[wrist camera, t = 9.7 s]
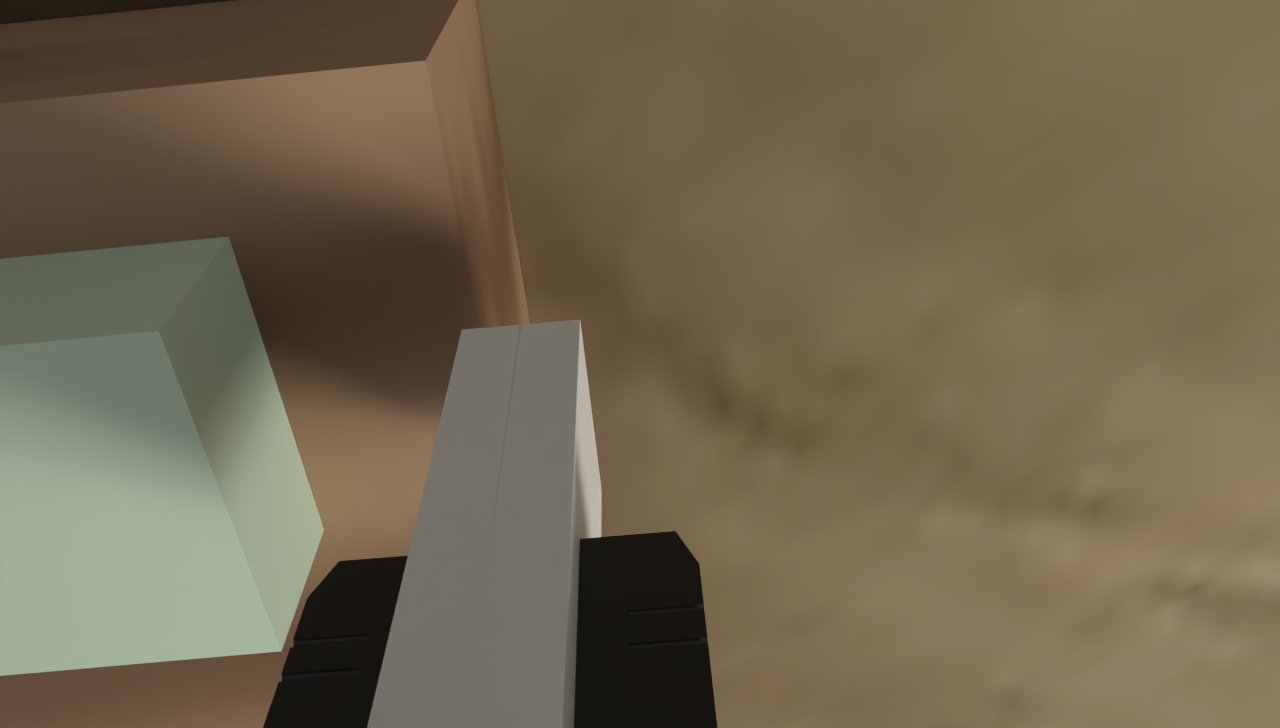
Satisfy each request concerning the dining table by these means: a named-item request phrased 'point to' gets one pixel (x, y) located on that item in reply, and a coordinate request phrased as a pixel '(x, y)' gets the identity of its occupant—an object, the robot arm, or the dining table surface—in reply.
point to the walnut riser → (276, 250)
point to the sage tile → (143, 463)
